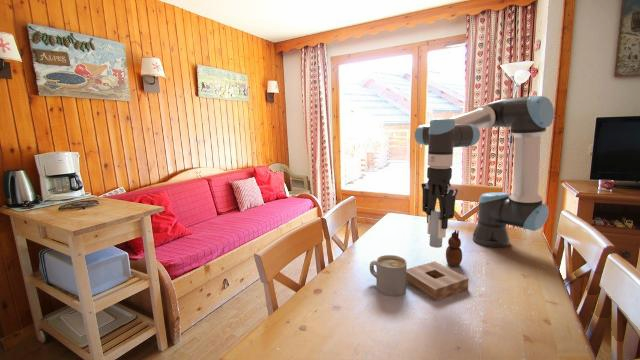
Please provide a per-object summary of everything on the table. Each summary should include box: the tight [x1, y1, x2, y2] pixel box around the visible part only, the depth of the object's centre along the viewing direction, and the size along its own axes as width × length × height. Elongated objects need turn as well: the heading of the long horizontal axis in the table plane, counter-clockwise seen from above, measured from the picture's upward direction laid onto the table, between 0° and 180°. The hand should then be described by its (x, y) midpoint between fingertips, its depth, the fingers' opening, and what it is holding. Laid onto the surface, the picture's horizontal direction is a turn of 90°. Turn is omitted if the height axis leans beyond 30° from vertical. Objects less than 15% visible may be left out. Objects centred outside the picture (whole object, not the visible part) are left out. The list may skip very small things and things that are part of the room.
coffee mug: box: [369, 254, 408, 297], centre depth 108 cm, size 13×10×10 cm
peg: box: [428, 209, 443, 249], centre depth 105 cm, size 4×4×12 cm
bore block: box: [406, 260, 469, 302], centre depth 109 cm, size 15×15×4 cm
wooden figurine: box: [445, 229, 463, 268], centre depth 122 cm, size 7×6×15 cm
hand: (436, 235), depth 105 cm, fingers closed on peg, 4 cm apart
